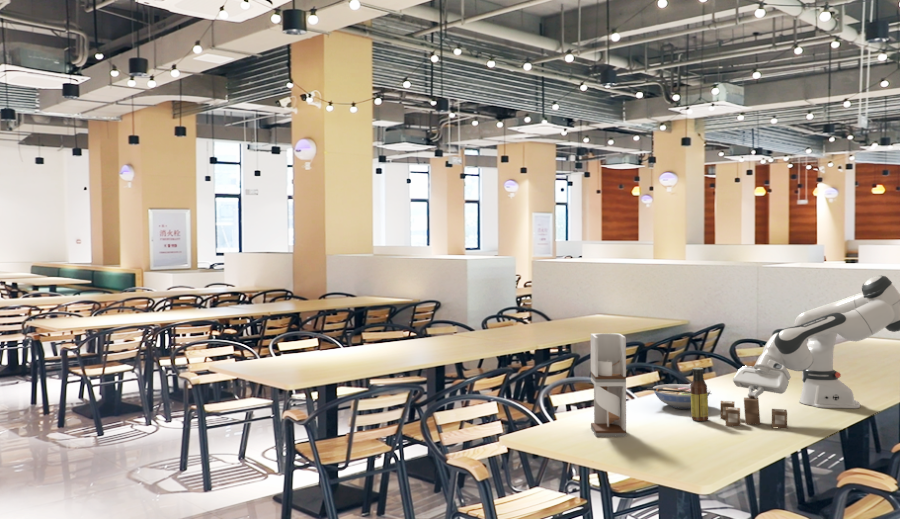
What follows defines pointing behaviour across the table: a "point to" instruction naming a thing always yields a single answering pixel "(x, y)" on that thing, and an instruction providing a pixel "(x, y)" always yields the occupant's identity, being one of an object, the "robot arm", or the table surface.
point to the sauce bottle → (699, 396)
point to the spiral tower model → (609, 383)
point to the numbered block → (779, 418)
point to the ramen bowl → (675, 394)
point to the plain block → (752, 410)
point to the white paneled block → (723, 407)
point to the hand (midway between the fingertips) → (751, 397)
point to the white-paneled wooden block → (732, 416)
